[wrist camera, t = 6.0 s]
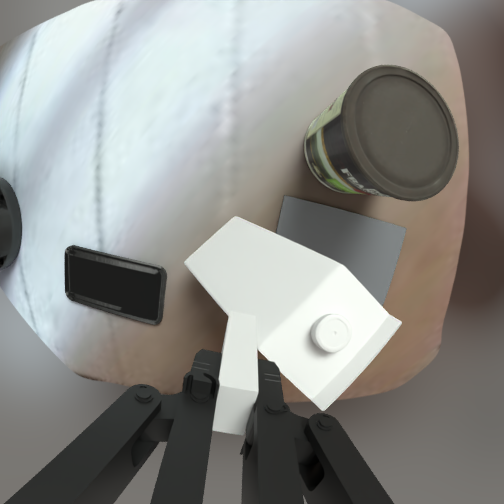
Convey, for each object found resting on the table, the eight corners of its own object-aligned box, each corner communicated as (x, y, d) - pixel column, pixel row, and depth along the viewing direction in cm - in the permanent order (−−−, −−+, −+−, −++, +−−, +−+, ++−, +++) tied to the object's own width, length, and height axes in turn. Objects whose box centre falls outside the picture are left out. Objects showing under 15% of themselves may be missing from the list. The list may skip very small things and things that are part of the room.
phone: (64, 245, 31) (166, 269, 32) (69, 243, 32) (168, 266, 33) (65, 298, 33) (160, 327, 34) (69, 296, 34) (162, 323, 35)
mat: (253, 324, 35) (253, 325, 34) (284, 195, 31) (284, 195, 31) (367, 340, 35) (368, 342, 35) (404, 227, 32) (406, 228, 31)
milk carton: (267, 260, 33) (406, 346, 17) (222, 303, 31) (338, 422, 16) (234, 214, 29) (394, 288, 13) (182, 261, 28) (299, 393, 12)
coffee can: (376, 203, 31) (449, 217, 17) (295, 181, 31) (329, 177, 17) (391, 124, 29) (462, 98, 15) (312, 97, 28) (352, 44, 15)
